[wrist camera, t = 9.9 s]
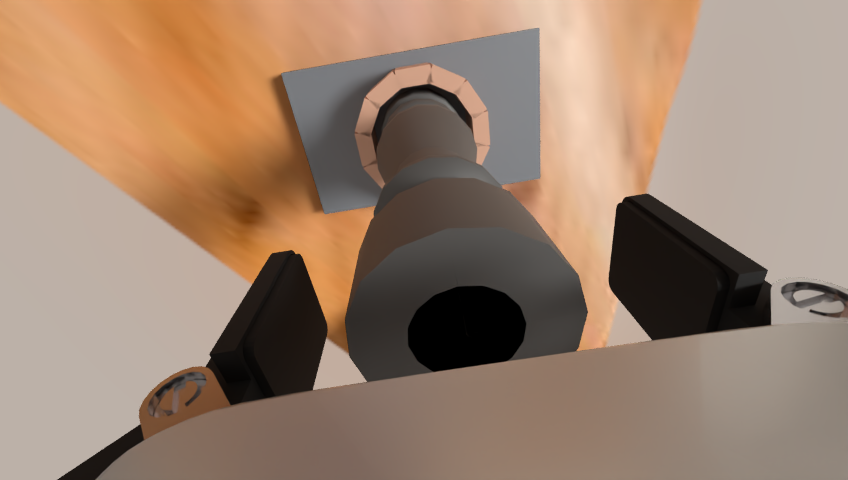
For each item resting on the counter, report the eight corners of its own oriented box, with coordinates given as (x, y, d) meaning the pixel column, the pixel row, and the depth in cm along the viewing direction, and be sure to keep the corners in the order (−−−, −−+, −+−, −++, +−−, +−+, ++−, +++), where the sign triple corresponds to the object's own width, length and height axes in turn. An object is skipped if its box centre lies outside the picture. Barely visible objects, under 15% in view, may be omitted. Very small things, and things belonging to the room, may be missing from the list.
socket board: (533, 28, 29) (556, 25, 25) (534, 173, 35) (554, 191, 30) (286, 72, 30) (266, 76, 25) (327, 207, 35) (316, 230, 31)
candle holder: (447, 169, 33) (545, 429, 10) (378, 156, 32) (323, 410, 10) (464, 96, 30) (646, 239, 8) (389, 80, 29) (347, 189, 7)
